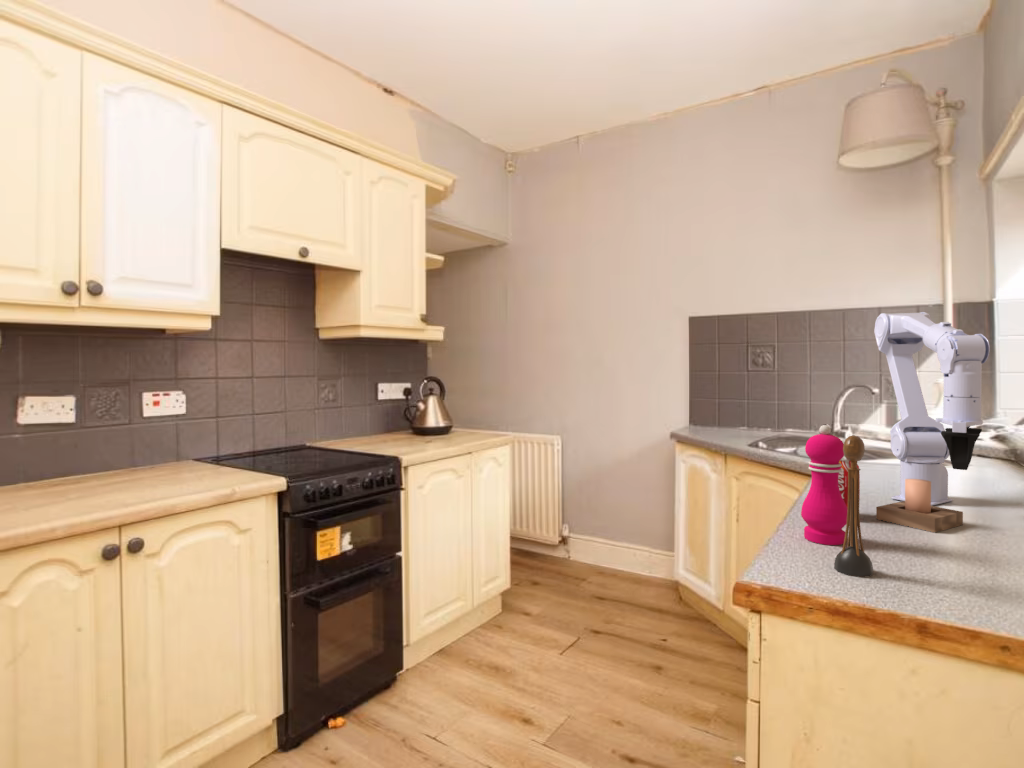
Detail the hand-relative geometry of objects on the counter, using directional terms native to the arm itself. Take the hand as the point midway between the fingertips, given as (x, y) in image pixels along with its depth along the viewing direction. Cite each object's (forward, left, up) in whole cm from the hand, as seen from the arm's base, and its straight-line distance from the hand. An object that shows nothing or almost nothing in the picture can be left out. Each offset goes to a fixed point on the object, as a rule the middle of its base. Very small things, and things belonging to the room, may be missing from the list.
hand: (961, 466), depth 107 cm
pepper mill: (+35, -5, -11) cm, 37 cm away
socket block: (+9, -3, -10) cm, 14 cm away
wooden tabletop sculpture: (+45, +6, -11) cm, 47 cm away
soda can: (+18, -13, -11) cm, 25 cm away
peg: (+9, -3, -10) cm, 14 cm away
